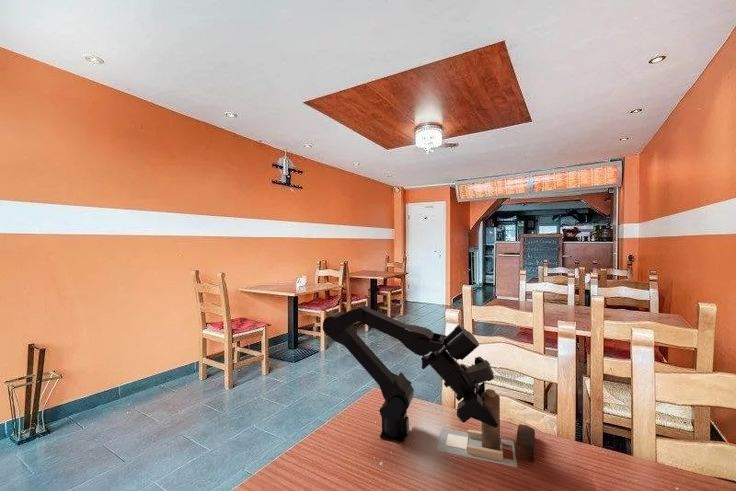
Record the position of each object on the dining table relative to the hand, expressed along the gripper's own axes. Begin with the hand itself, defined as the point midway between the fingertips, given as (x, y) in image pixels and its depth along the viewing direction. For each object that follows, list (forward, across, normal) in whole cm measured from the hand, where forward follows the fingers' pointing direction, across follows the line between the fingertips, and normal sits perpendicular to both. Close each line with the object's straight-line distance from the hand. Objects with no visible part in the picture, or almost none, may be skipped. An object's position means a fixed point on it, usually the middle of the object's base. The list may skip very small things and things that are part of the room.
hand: (496, 421), depth 78 cm
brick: (+11, +3, +1) cm, 11 cm away
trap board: (+2, 0, +9) cm, 10 cm away
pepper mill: (+4, 0, +6) cm, 7 cm away
